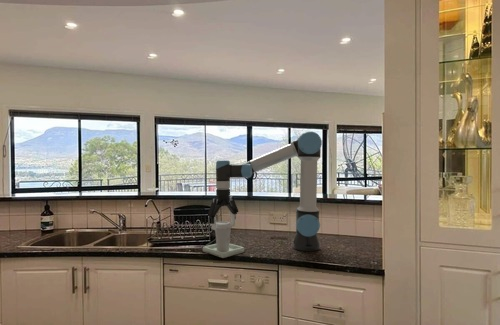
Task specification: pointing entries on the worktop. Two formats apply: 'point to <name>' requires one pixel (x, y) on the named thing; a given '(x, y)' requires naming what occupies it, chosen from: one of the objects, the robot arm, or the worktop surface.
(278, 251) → the worktop surface
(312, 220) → the robot arm
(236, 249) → the tray
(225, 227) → the coffee cup
